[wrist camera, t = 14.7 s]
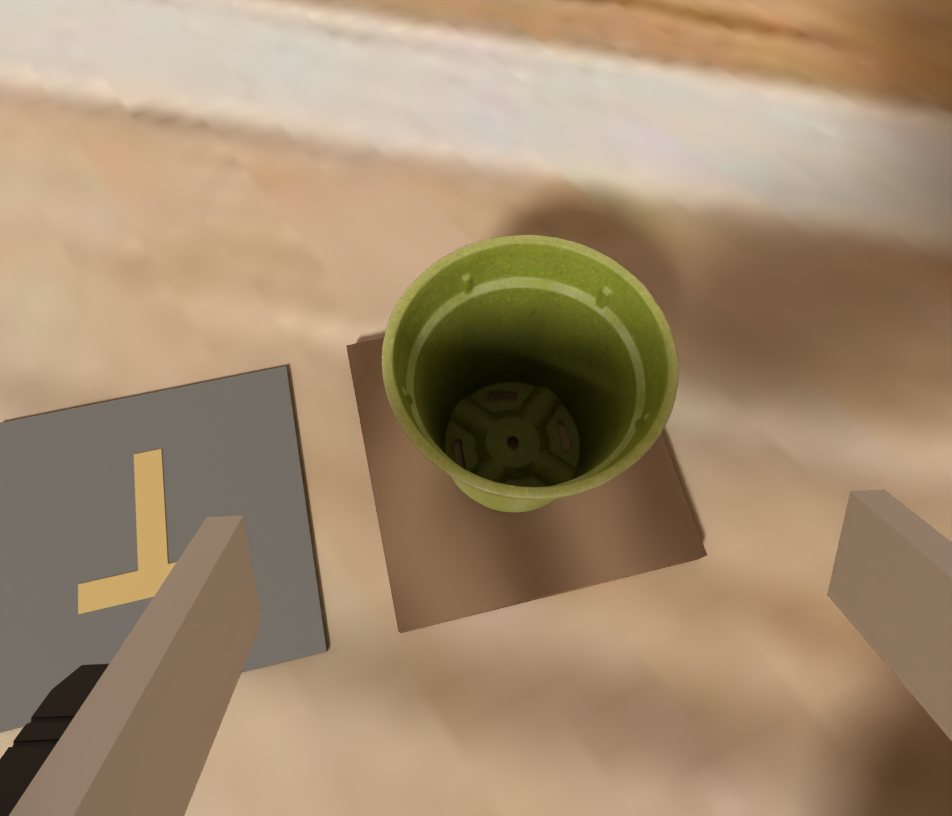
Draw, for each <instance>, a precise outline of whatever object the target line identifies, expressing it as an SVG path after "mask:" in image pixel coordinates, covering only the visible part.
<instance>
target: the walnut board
mask: <svg viewBox="0 0 952 816" xmlns="http://www.w3.org/2000/svg"><path fill="white" fill-rule="evenodd" d="M383 341H384V338H383V339H377V340H372V341H367V342H362V343H357V344H352V345H347V352H348V357H349V363H350V368H351V374H352V379H353V385H354V390H355V396H356V401H357V406H358V412H359V417H360V423H361V428H362V434H363V439H364V445H365V450H366V456H367V461H368V467H369V472H370V478H371V483H372V489H373V494H374V499H375V505H376V510H377V516H378V521H379V527H380V532H381V538H382V543H383V549H384V554H385V560H386V565H387V571H388V576H389V582H390V587H391V592H392V598H393V603H394V609H395V614H396V620H397V625H398V631H399V632H400V633H403V632H407V631H411V630H415V629H419V628H423V627H427V626H431V625H435V624H439V623H443V622H447V621H451V620H455V619H459V618H463V617H467V616H471V615H476V614H480V613H484V612H488V611H492V610H496V609H500V608H504V607H508V606H512V605H516V604H520V603H524V602H528V601H532V600H536V599H540V598H544V597H548V596H552V595H556V594H560V593H564V592H568V591H572V590H576V589H580V588H584V587H588V586H592V585H596V584H600V583H604V582H608V581H612V580H616V579H620V578H625V577H629V576H633V575H637V574H641V573H645V572H649V571H653V570H657V569H661V568H665V567H669V566H673V565H677V564H681V563H685V562H689V561H693V560H697V559H700V558H702V557H704V556H706V555H707V553H706V551H705V548H704V545H703V543H702V540H701V537H700V534H699V532H698V529H697V526H696V524H695V521H694V518H693V516H692V513H691V510H690V507H689V505H688V502H687V499H686V497H685V494H684V491H683V489H682V486H681V483H680V480H679V478H678V475H677V472H676V470H675V467H674V464H673V462H672V459H671V456H670V453H669V451H668V448H667V445H666V443H665V440H664V437H663V435H662V432H661V434H660V435H659V437H658V438H657V440H656V441H655V442H654V444H653V445H652V446H651V448H650V449H649V450H648V451H647V452H646V453H645V454H644V455H643V456H642V457H641V458H640V459H639V460H638V461H637V462H636V463H635V464H633V465H632V466H631V467H630V468H629V469H627V470H626V471H625V472H623V473H622V474H620V475H619V476H617V477H616V478H614V479H612V480H610V481H609V482H607V483H605V484H603V485H601V486H599V487H597V488H594V489H592V490H589V491H586V492H584V493H580V494H577V495H574V496H569V497H564V498H559V499H556V500H554V501H552V502H551V503H549V504H547V505H545V506H543V507H541V508H538V509H535V510H531V511H527V512H502V511H498V510H494V509H491V508H488V507H486V506H484V505H482V504H480V503H478V502H476V501H475V500H473V499H472V498H470V497H469V496H468V495H466V494H465V493H464V492H463V491H462V490H461V489H460V488H459V487H458V486H457V485H456V484H455V482H454V481H453V479H452V478H451V476H449V475H447V474H446V473H444V472H443V471H442V470H440V469H439V468H438V467H436V466H435V465H434V464H433V463H431V462H430V461H429V460H428V459H427V458H426V457H425V456H424V455H423V454H422V453H421V452H420V451H419V450H418V449H417V448H416V447H415V446H414V444H413V443H412V442H411V441H410V439H409V438H408V437H407V435H406V434H405V432H404V431H403V429H402V428H401V426H400V424H399V422H398V421H397V419H396V417H395V415H394V413H393V410H392V408H391V406H390V403H389V400H388V397H387V394H386V390H385V386H384V381H383V374H382V346H383ZM516 398H517V395H516V394H515V393H511V392H502V393H495V394H492V395H491V396H489V397H488V399H487V401H488V402H495V401H498V400H505V399H507V400H509V399H516ZM557 426H558V428H559V431H560V435H561V440H562V444H563V445H562V447H563V449H564V450H565V451H566V450H568V449H569V448H570V438H569V436H568V434H567V432H566V429H565V425H564V424H563V423H560V422H558V423H557ZM507 444H508V446H509V447H510V448H512V449H513V448H516V447H517V446H518V440H517V438H515V437H510V438H508V441H507ZM454 451H455V455H456V460H457V463H458V465H459V466H460V467H462V468H463V469H464V468H466V464H465V461H464V457H463V453H462V442H461V440H457V441H456V443H455V444H454Z"/></svg>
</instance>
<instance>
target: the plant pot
mask: <svg viewBox="0 0 952 816" xmlns="http://www.w3.org/2000/svg"><path fill="white" fill-rule="evenodd" d="M678 373H679V366H678V356H677V350H676V346H675V341H674V339H673V336H672V333H671V330H670V326H669V324H668V322H667V320H666V317H665V315H664V313H663V311H662V310H661V308H660V307H659V305H658V304H657V303H656V301H655V299H654V298H653V296H652V295H651V293H650V292H649V291H648V290H647V288H646V287H645V286H644V285H643V284H642V283H641V282H640V281H639V280H638V279H637V277H635V276H634V275H633V274H632V273H630V272H629V271H628V270H626V269H625V268H624V267H622V266H621V265H620V264H618V263H617V262H615V261H614V260H613V259H611V258H610V257H608V256H606V255H604V254H602V253H600V252H598V251H596V250H594V249H592V248H589V247H587V246H585V245H582V244H579V243H576V242H573V241H569V240H565V239H561V238H556V237H549V236H542V235H514V236H503V237H496V238H491V239H486V240H482V241H479V242H475V243H473V244H470V245H467V246H464V247H462V248H460V249H458V250H456V251H454V252H452V253H450V254H449V255H447V256H445V257H443V258H441V259H440V260H438V261H437V262H436V263H434V264H433V265H431V266H430V267H429V268H428V269H426V270H425V271H424V272H423V273H422V274H421V275H420V276H419V277H418V278H417V279H416V280H415V281H413V283H412V284H411V285H410V286H409V287H408V288H407V289H406V291H405V292H404V294H403V295H402V297H401V298H400V300H399V301H398V303H397V305H396V306H395V308H394V310H393V312H392V314H391V317H390V319H389V322H388V325H387V328H386V331H385V336H384V341H383V346H382V374H383V381H384V386H385V390H386V394H387V397H388V400H389V403H390V406H391V408H392V410H393V413H394V415H395V417H396V419H397V421H398V422H399V424H400V426H401V428H402V429H403V431H404V432H405V434H406V435H407V437H408V438H409V439H410V441H411V442H412V443H413V444H414V446H415V447H416V448H417V449H418V450H419V451H420V452H421V453H422V454H423V455H424V456H425V457H426V458H427V459H428V460H429V461H430V462H431V463H433V464H434V465H435V466H436V467H438V468H439V469H440V470H442V471H443V472H444V473H446V474H447V475H449V476H451V478H452V479H453V481H454V482H455V484H456V485H457V486H458V487H459V488H460V489H461V490H462V491H463V492H464V493H465V494H466V495H468V496H469V497H470V498H472V499H473V500H475V501H476V502H478V503H480V504H482V505H484V506H486V507H488V508H491V509H494V510H498V511H502V512H527V511H531V510H535V509H538V508H541V507H543V506H545V505H547V504H549V503H551V502H552V501H554V500H556V499H559V498H564V497H569V496H574V495H577V494H580V493H584V492H586V491H589V490H592V489H594V488H597V487H599V486H601V485H603V484H605V483H607V482H609V481H610V480H612V479H614V478H616V477H617V476H619V475H620V474H622V473H623V472H625V471H626V470H627V469H629V468H630V467H631V466H632V465H633V464H635V463H636V462H637V461H638V460H639V459H640V458H641V457H642V456H643V455H644V454H645V453H646V452H647V451H648V450H649V449H650V448H651V446H652V445H653V444H654V442H655V441H656V440H657V438H658V437H659V435H660V434H661V432H662V430H663V429H664V427H665V425H666V423H667V421H668V419H669V417H670V414H671V412H672V408H673V405H674V401H675V397H676V392H677V386H678ZM502 392H511V393H515V394H516V395H517V398H516V399H509V400H507V399H505V400H498V401H495V402H488V401H487V399H488V397H489V396H491V395H492V394H495V393H502ZM558 422H560V423H563V424H564V425H565V429H566V432H567V434H568V436H569V438H570V448H569V449H568V450H566V451H565V450H564V449H563V447H562V445H563V444H562V440H561V435H560V431H559V428H558V426H557V423H558ZM510 437H515V438H517V440H518V446H517V447H516V448H513V449H512V448H510V447H509V446H508V444H507V441H508V438H510ZM457 440H461V442H462V453H463V457H464V461H465V464H466V468H464V469H463V468H462V467H460V466H459V465H458V463H457V460H456V455H455V451H454V444H455V443H456V441H457Z"/></svg>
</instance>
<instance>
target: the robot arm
mask: <svg viewBox="0 0 952 816" xmlns="http://www.w3.org/2000/svg"><path fill="white" fill-rule="evenodd" d="M827 595H828V596H829V597H830V598H831V600H832V601H833V602H834V603H835V604H836V606H837V607H838V608H839V609H840V610H841V611H842V613H843V614H844V615H845V616H846V617H847V619H848V620H849V621H850V622H851V623H852V624H853V626H854V627H855V628H856V629H857V630H858V632H859V633H860V634H861V635H862V636H863V637H864V639H865V640H866V641H867V642H868V643H869V644H870V646H871V647H872V648H873V649H874V650H875V652H876V653H877V654H878V655H879V656H880V657H881V659H882V660H883V661H884V662H885V663H886V665H887V666H888V667H889V668H890V669H891V670H892V672H893V673H894V674H895V675H896V676H897V677H898V679H899V680H900V681H901V682H902V683H903V685H904V686H905V687H906V688H907V689H908V690H909V692H910V693H911V694H912V695H913V696H914V698H915V699H916V700H917V701H918V702H919V703H920V705H921V706H922V707H923V708H924V709H925V711H926V712H927V713H928V714H929V715H930V716H931V718H932V719H933V720H934V721H935V722H936V723H937V725H938V726H939V727H940V728H941V729H942V731H943V732H944V733H945V734H946V735H947V736H948V738H949V739H950V740H951V741H952V542H951V541H949V540H948V539H947V538H946V537H944V536H943V535H942V534H941V533H939V532H938V531H937V530H935V529H934V528H933V527H932V526H930V525H929V524H928V523H926V522H925V521H924V520H923V519H921V518H920V517H919V516H918V515H916V514H915V513H914V512H912V511H911V510H910V509H909V508H907V507H906V506H905V505H903V504H902V503H901V502H900V501H898V500H897V499H896V498H895V497H893V496H892V495H891V494H889V493H888V492H887V491H886V490H870V491H850V495H849V499H848V504H847V508H846V513H845V517H844V522H843V526H842V531H841V535H840V540H839V544H838V549H837V553H836V558H835V562H834V567H833V571H832V576H831V580H830V585H829V589H828V594H827ZM261 622H262V615H261V610H260V604H259V599H258V594H257V588H256V583H255V577H254V572H253V566H252V561H251V556H250V550H249V545H248V539H247V534H246V528H245V523H244V518H243V516H218V517H206V519H205V520H204V522H203V523H202V525H201V526H200V528H199V529H198V531H197V532H196V534H195V535H194V537H193V538H192V540H191V541H190V543H189V544H188V546H187V547H186V549H185V550H184V552H183V554H182V555H181V557H180V558H179V560H178V561H177V563H176V564H175V566H174V567H173V569H172V570H171V572H170V573H169V575H168V576H167V578H166V579H165V581H164V582H163V584H162V585H161V587H160V588H159V590H158V591H157V593H156V594H155V596H154V597H153V599H152V600H151V602H150V603H149V605H148V606H147V608H146V609H145V611H144V612H143V614H142V615H141V617H140V618H139V620H138V621H137V623H136V624H135V626H134V627H133V629H132V631H131V632H130V634H129V635H128V637H127V638H126V640H125V641H124V643H123V644H122V646H121V647H120V649H119V650H118V652H117V653H116V655H115V656H114V658H113V659H112V661H111V662H110V664H91V665H81V666H80V667H79V668H77V669H76V670H75V671H74V672H73V673H71V674H70V675H69V676H68V677H66V678H65V679H64V680H63V681H61V682H60V683H59V684H58V685H57V686H55V687H54V688H53V689H52V690H51V691H50V692H49V694H48V695H47V697H46V698H45V699H44V701H43V702H42V703H41V705H40V706H39V707H38V709H37V710H36V711H35V713H34V714H33V715H32V717H31V722H30V723H27V724H26V725H25V726H24V728H23V729H22V730H21V732H20V733H19V734H18V736H17V737H16V739H15V740H14V744H13V747H9V748H8V749H7V751H6V752H5V753H4V755H3V756H2V757H1V759H0V816H184V815H185V812H186V810H187V807H188V805H189V802H190V800H191V797H192V794H193V792H194V789H195V787H196V784H197V782H198V779H199V777H200V774H201V772H202V769H203V767H204V764H205V762H206V759H207V757H208V754H209V752H210V749H211V747H212V744H213V742H214V739H215V737H216V734H217V732H218V729H219V727H220V724H221V722H222V719H223V717H224V714H225V712H226V709H227V707H228V704H229V702H230V699H231V697H232V694H233V692H234V689H235V687H236V684H237V682H238V679H239V677H240V674H241V672H242V669H243V667H244V664H245V662H246V659H247V657H248V654H249V652H250V649H251V647H252V644H253V642H254V639H255V637H256V634H257V632H258V629H259V627H260V624H261Z"/></svg>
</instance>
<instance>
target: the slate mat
mask: <svg viewBox="0 0 952 816" xmlns="http://www.w3.org/2000/svg"><path fill="white" fill-rule="evenodd" d="M218 516H243V518H244V523H245V528H246V534H247V539H248V545H249V550H250V556H251V561H252V566H253V572H254V577H255V583H256V588H257V594H258V599H259V604H260V610H261V615H262V622H261V624H260V627H259V629H258V632H257V634H256V637H255V639H254V642H253V644H252V647H251V649H250V652H249V654H248V657H247V659H246V662H245V664H244V667H243V669H242V672H246V671H250V670H254V669H258V668H262V667H266V666H270V665H274V664H278V663H282V662H286V661H290V660H294V659H298V658H302V657H306V656H310V655H314V654H318V653H322V652H327V645H326V638H325V631H324V624H323V616H322V609H321V602H320V595H319V588H318V581H317V574H316V567H315V560H314V553H313V546H312V539H311V532H310V525H309V518H308V511H307V503H306V496H305V489H304V482H303V475H302V468H301V461H300V454H299V447H298V440H297V433H296V426H295V419H294V412H293V405H292V398H291V390H290V383H289V376H288V369H287V366H284V367H279V368H274V369H269V370H264V371H258V372H253V373H248V374H243V375H238V376H233V377H228V378H223V379H218V380H213V381H208V382H203V383H198V384H193V385H188V386H183V387H178V388H173V389H168V390H163V391H158V392H153V393H148V394H143V395H138V396H133V397H128V398H122V399H117V400H112V401H107V402H102V403H97V404H92V405H87V406H82V407H77V408H72V409H67V410H62V411H57V412H52V413H47V414H42V415H37V416H32V417H27V418H22V419H17V420H12V421H7V422H2V423H0V732H4V731H8V730H12V729H16V728H20V727H24V726H25V725H26V724H27V723H30V722H31V717H32V715H33V714H34V713H35V711H36V710H37V709H38V707H39V706H40V705H41V703H42V702H43V701H44V699H45V698H46V697H47V695H48V694H49V692H50V691H51V690H52V689H53V688H54V687H55V686H57V685H58V684H59V683H60V682H61V681H63V680H64V679H65V678H66V677H68V676H69V675H70V674H71V673H73V672H74V671H75V670H76V669H77V668H79V667H80V666H81V665H91V664H110V662H111V661H112V659H113V658H114V656H115V655H116V653H117V652H118V650H119V649H120V647H121V646H122V644H123V643H124V641H125V640H126V638H127V637H128V635H129V634H130V632H131V631H132V629H133V627H134V626H135V624H136V623H137V621H138V620H139V618H140V617H141V615H142V614H143V612H144V611H145V609H146V608H147V606H148V605H149V603H150V602H151V600H152V599H153V597H154V596H155V594H156V593H157V591H158V590H159V588H160V587H161V585H162V584H163V582H164V581H165V579H166V578H167V576H168V575H169V573H170V572H171V570H172V569H173V567H174V566H175V564H176V563H177V561H178V560H179V558H180V557H181V555H182V554H183V552H184V550H185V549H186V547H187V546H188V544H189V543H190V541H191V540H192V538H193V537H194V535H195V534H196V532H197V531H198V529H199V528H200V526H201V525H202V523H203V522H204V520H205V519H206V517H218ZM242 672H241V673H242Z"/></svg>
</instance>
